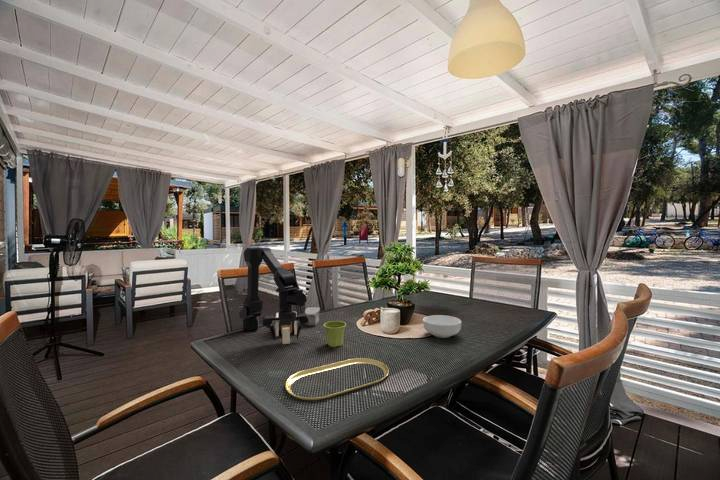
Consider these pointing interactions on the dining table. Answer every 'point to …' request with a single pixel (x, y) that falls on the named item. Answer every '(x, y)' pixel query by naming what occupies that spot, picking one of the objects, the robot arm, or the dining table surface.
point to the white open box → (278, 326)
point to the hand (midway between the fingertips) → (286, 339)
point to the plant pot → (334, 332)
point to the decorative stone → (312, 315)
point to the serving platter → (332, 366)
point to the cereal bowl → (442, 325)
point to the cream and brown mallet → (286, 333)
